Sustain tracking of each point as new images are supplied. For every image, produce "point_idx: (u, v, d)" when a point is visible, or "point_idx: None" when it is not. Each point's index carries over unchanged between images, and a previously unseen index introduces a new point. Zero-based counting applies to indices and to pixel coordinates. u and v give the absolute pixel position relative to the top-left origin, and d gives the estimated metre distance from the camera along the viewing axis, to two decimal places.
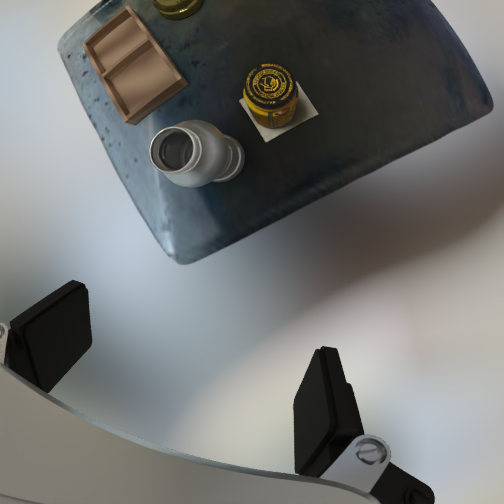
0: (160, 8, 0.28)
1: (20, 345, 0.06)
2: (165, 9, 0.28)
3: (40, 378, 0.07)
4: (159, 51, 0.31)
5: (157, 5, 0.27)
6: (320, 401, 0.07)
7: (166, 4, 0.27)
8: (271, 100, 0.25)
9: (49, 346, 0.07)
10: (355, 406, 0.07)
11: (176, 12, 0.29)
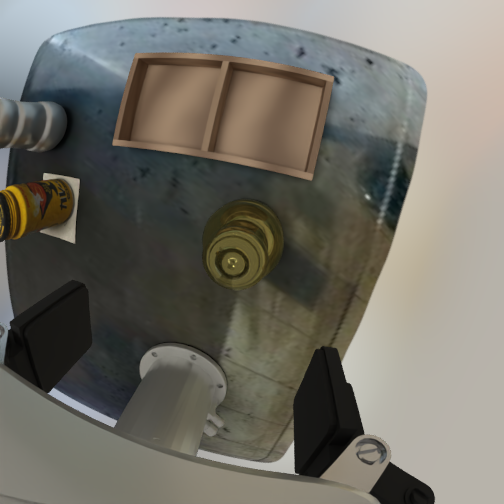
0: (231, 204, 0.24)
1: (20, 345, 0.06)
2: (221, 208, 0.25)
3: (40, 378, 0.07)
4: (166, 147, 0.24)
5: (238, 206, 0.24)
6: (320, 401, 0.07)
7: (222, 216, 0.24)
8: None
9: (49, 346, 0.07)
10: (355, 406, 0.07)
11: None
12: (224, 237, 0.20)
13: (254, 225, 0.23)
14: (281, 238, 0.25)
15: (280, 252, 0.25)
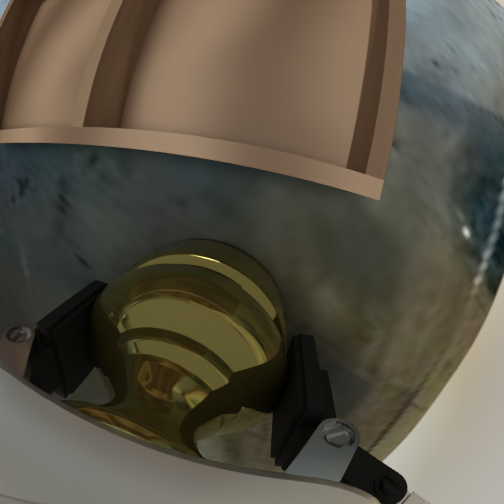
0: (134, 275, 0.08)
1: (47, 346, 0.07)
2: (112, 282, 0.08)
3: (66, 379, 0.07)
4: (17, 133, 0.08)
5: (151, 284, 0.08)
6: (293, 384, 0.08)
7: (111, 310, 0.08)
8: None
9: (75, 346, 0.08)
10: (329, 392, 0.08)
11: None
12: None
13: (194, 353, 0.07)
14: (282, 369, 0.08)
15: (278, 398, 0.08)
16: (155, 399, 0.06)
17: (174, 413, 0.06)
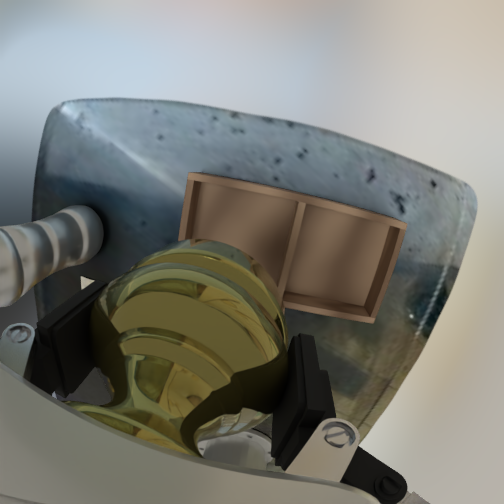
0: (134, 275, 0.08)
1: (47, 346, 0.07)
2: (112, 281, 0.08)
3: (66, 378, 0.07)
4: None
5: (152, 284, 0.07)
6: (293, 384, 0.08)
7: (111, 309, 0.08)
8: None
9: (75, 346, 0.08)
10: (329, 392, 0.08)
11: None
12: None
13: (194, 353, 0.07)
14: (283, 369, 0.08)
15: (279, 398, 0.08)
16: (155, 399, 0.06)
17: (175, 413, 0.06)
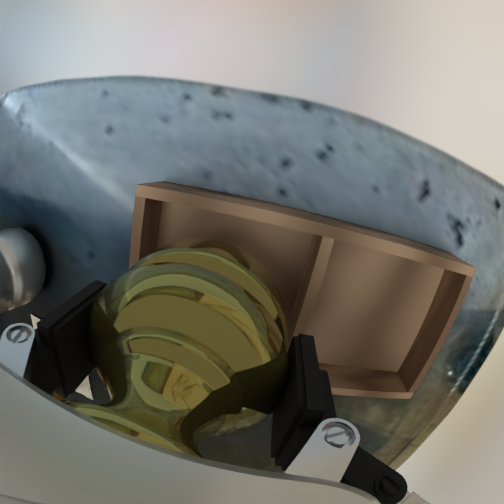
0: (134, 274, 0.08)
1: (47, 346, 0.07)
2: (112, 281, 0.08)
3: (66, 378, 0.07)
4: None
5: (151, 283, 0.07)
6: (293, 384, 0.08)
7: (111, 309, 0.08)
8: None
9: (75, 346, 0.08)
10: (329, 392, 0.08)
11: None
12: None
13: (194, 353, 0.07)
14: (283, 369, 0.08)
15: (279, 397, 0.08)
16: (155, 399, 0.06)
17: (174, 413, 0.06)
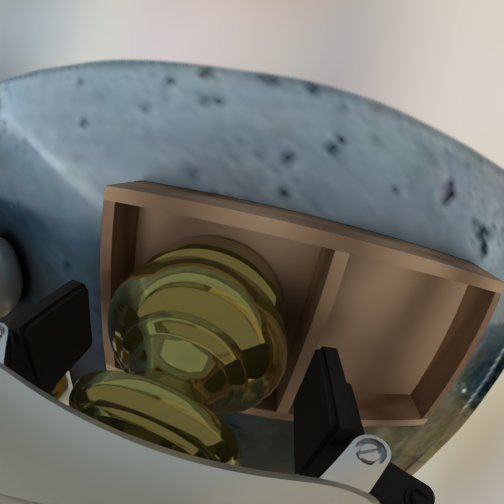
0: (153, 266, 0.09)
1: (20, 345, 0.06)
2: (133, 272, 0.09)
3: (40, 378, 0.07)
4: None
5: (170, 273, 0.09)
6: (320, 401, 0.07)
7: (132, 297, 0.09)
8: None
9: (49, 346, 0.07)
10: (355, 406, 0.07)
11: None
12: (98, 407, 0.05)
13: (207, 331, 0.08)
14: (282, 348, 0.10)
15: (279, 375, 0.10)
16: (174, 371, 0.07)
17: (190, 383, 0.07)
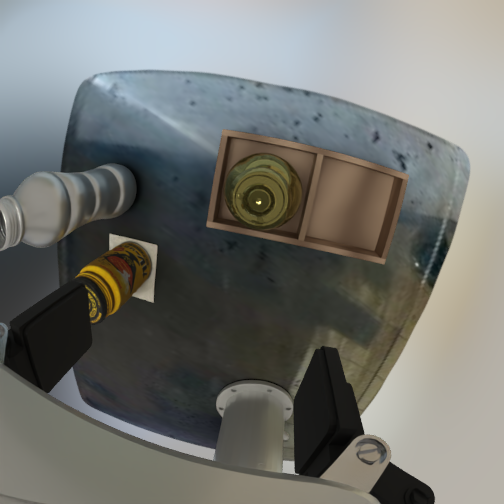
0: (251, 155, 0.25)
1: (20, 345, 0.06)
2: None
3: (40, 378, 0.07)
4: (265, 235, 0.29)
5: (259, 156, 0.25)
6: (320, 401, 0.07)
7: (243, 165, 0.25)
8: None
9: (49, 346, 0.07)
10: (355, 406, 0.07)
11: None
12: (249, 176, 0.21)
13: None
14: (300, 185, 0.25)
15: (299, 199, 0.26)
16: None
17: None
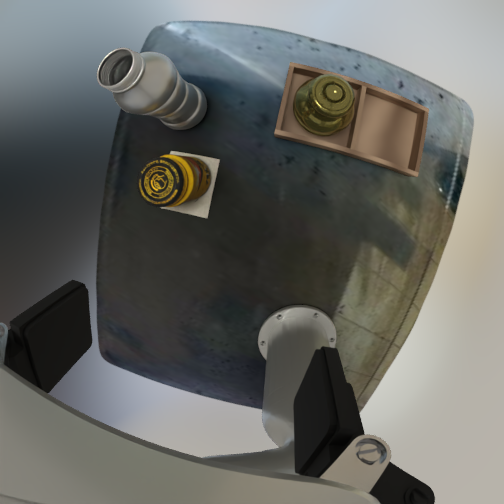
0: (315, 78, 0.28)
1: (20, 345, 0.06)
2: None
3: (40, 378, 0.07)
4: (324, 142, 0.32)
5: None
6: (320, 401, 0.07)
7: (311, 83, 0.28)
8: (144, 171, 0.27)
9: (49, 346, 0.07)
10: (355, 406, 0.07)
11: None
12: (325, 78, 0.24)
13: None
14: None
15: (353, 111, 0.29)
16: None
17: None
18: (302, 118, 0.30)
